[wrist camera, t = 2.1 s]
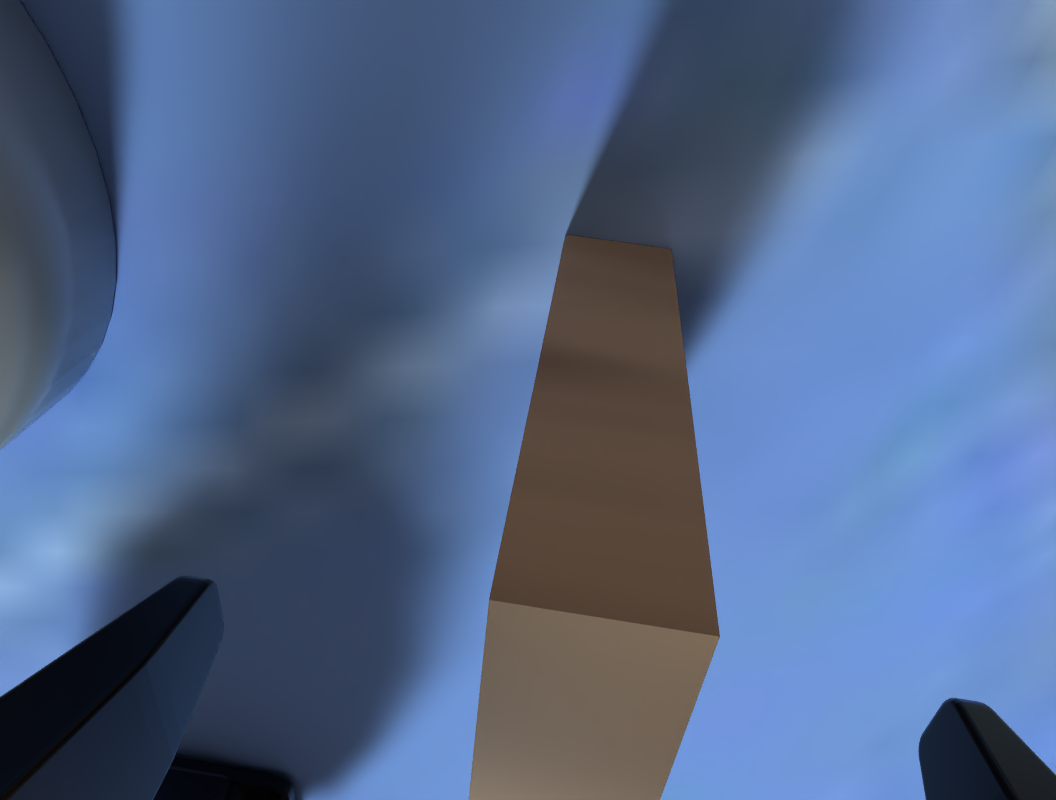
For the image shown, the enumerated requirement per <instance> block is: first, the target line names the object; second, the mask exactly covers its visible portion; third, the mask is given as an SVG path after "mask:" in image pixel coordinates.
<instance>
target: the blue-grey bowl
mask: <svg viewBox="0 0 1056 800" xmlns="http://www.w3.org/2000/svg"><path fill="white" fill-rule="evenodd" d="M115 285H116V242H115V234H114V228H113V221H112V215H111V208H110V202H109V196H108V193H107V189H106V185H105V182H104V178H103V175H102V171H101V167H100V164H99V160H98V157H97V153H96V149H95V147H94V144H93V142H92V139H91V137H90V134H89V132H88V129H87V127H86V124H85V122H84V119H83V117H82V114H81V112H80V109H79V107H78V104H77V102H76V99H75V97H74V95H73V93H72V91H71V89H70V87H69V85H68V83H67V81H66V79H65V78H64V76H63V74H62V72H61V70H60V68H59V66H58V64H57V62H56V60H55V58H54V56H53V54H52V52H51V50H50V48H49V46H48V44H47V43H46V41H45V40H44V38H43V37H42V35H41V33H40V32H39V30H38V29H37V27H36V26H35V24H34V22H33V21H32V19H31V18H30V16H29V14H28V13H27V11H26V10H25V8H24V7H23V5H22V3H21V2H20V0H0V450H1V449H2V448H4V447H5V446H6V445H7V444H8V443H10V442H11V441H12V440H13V439H14V438H15V437H17V436H18V435H19V434H20V433H21V432H23V431H24V430H25V429H26V428H27V427H29V426H30V425H31V424H32V423H33V422H35V421H36V420H37V419H38V418H39V417H41V416H42V415H43V414H44V413H45V412H47V411H48V410H49V409H50V408H51V407H53V406H54V405H55V404H56V403H57V402H58V401H60V400H61V399H62V398H63V397H64V396H66V395H67V394H68V393H69V392H70V391H71V390H72V389H73V387H74V386H75V385H76V384H77V383H78V382H79V380H80V379H81V378H82V377H83V376H84V375H85V373H86V372H87V371H88V369H89V367H90V365H91V364H92V362H93V360H94V358H95V356H96V355H97V353H98V351H99V349H100V347H101V345H102V342H103V339H104V336H105V333H106V330H107V327H108V324H109V321H110V318H111V314H112V306H113V299H114V292H115Z"/></svg>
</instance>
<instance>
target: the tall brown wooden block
mask: <svg viewBox="0 0 1056 800" xmlns="http://www.w3.org/2000/svg"><path fill="white" fill-rule="evenodd" d="M719 637H720V635H719V627H718V619H717V610H716V602H715V594H714V586H713V578H712V570H711V562H710V554H709V546H708V538H707V530H706V522H705V514H704V506H703V498H702V490H701V482H700V474H699V466H698V457H697V449H696V441H695V433H694V425H693V417H692V409H691V401H690V393H689V385H688V377H687V369H686V361H685V353H684V345H683V337H682V329H681V321H680V312H679V304H678V296H677V288H676V280H675V272H674V264H673V256H672V249H667V248H660V247H653V246H645V245H638V244H631V243H623V242H616V241H609V240H602V239H594V238H587V237H580V236H572V235H565V240H564V245H563V249H562V254H561V259H560V264H559V269H558V273H557V278H556V283H555V288H554V292H553V297H552V302H551V307H550V312H549V316H548V321H547V326H546V331H545V335H544V340H543V345H542V350H541V354H540V359H539V364H538V369H537V374H536V378H535V383H534V388H533V393H532V397H531V402H530V407H529V412H528V417H527V421H526V426H525V431H524V436H523V440H522V445H521V450H520V455H519V460H518V464H517V469H516V474H515V479H514V483H513V488H512V493H511V498H510V503H509V507H508V512H507V517H506V522H505V526H504V531H503V536H502V541H501V546H500V550H499V555H498V560H497V565H496V569H495V574H494V579H493V584H492V588H491V593H490V598H489V606H488V616H487V625H486V635H485V645H484V655H483V665H482V675H481V684H480V694H479V704H478V714H477V724H476V734H475V743H474V753H473V763H472V773H471V783H470V792H469V800H660V798H661V796H662V793H663V790H664V787H665V785H666V782H667V779H668V776H669V774H670V771H671V768H672V766H673V763H674V760H675V757H676V755H677V752H678V749H679V746H680V744H681V741H682V738H683V736H684V733H685V730H686V727H687V725H688V722H689V719H690V716H691V714H692V711H693V708H694V706H695V703H696V700H697V697H698V695H699V692H700V689H701V687H702V684H703V681H704V678H705V676H706V673H707V670H708V667H709V665H710V662H711V659H712V657H713V654H714V651H715V648H716V646H717V643H718V640H719Z"/></svg>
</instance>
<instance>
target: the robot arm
mask: <svg viewBox="0 0 1056 800" xmlns="http://www.w3.org/2000/svg"><path fill="white" fill-rule="evenodd" d="M223 625H224V624H223V617H222V612H221V606H220V601H219V596H218V590H217V586H216V584H215V583H214V582H213V581H212V580H210V579H206V578H200V577H194V576H180V577H177V578H175V579H174V580H172V581H171V582H169V583H168V584H166V585H165V586H163V587H162V588H160V589H159V590H157V591H156V592H154V593H153V594H151V595H150V596H148V597H147V598H145V599H144V600H143V601H141V602H140V603H138V604H137V605H135V606H134V607H132V608H131V609H129V610H128V611H126V612H125V613H123V614H122V615H120V616H119V617H117V618H116V619H115V620H113V621H112V622H110V623H109V624H107V625H106V626H104V627H103V628H101V629H100V630H98V631H97V632H95V633H94V634H92V635H91V636H89V637H88V638H86V639H85V640H84V641H82V642H81V643H79V644H78V645H76V646H75V647H73V648H72V649H70V650H69V651H67V652H66V653H64V654H63V655H61V656H60V657H58V658H57V659H56V660H54V661H53V662H51V663H50V664H48V665H47V666H45V667H44V668H42V669H41V670H39V671H38V672H36V673H35V674H33V675H32V676H30V677H29V678H27V679H26V680H25V681H23V682H22V683H20V684H19V685H17V686H16V687H14V688H13V689H11V690H10V691H8V692H7V693H5V694H4V695H2V696H1V697H0V800H296V799H295V792H294V786H293V784H292V783H291V782H290V781H289V780H287V779H285V778H283V777H279V776H274V775H268V774H262V773H257V772H251V771H245V770H239V769H233V768H228V767H222V766H216V765H210V764H204V763H198V762H193V761H187V760H181V759H175V758H174V757H175V754H176V752H177V750H178V747H179V745H180V742H181V740H182V738H183V735H184V733H185V730H186V728H187V725H188V722H189V720H190V717H191V715H192V712H193V710H194V707H195V705H196V702H197V700H198V697H199V695H200V692H201V690H202V687H203V685H204V682H205V680H206V677H207V675H208V672H209V670H210V667H211V665H212V662H213V659H214V657H215V654H216V652H217V649H218V647H219V644H220V642H221V638H222V635H223ZM919 760H920V766H921V772H922V778H923V785H924V791H925V797H926V800H1056V775H1055V774H1054V773H1053V772H1052V770H1051V769H1050V768H1049V767H1048V766H1047V765H1046V764H1045V763H1044V762H1043V761H1042V760H1041V759H1040V758H1039V757H1038V756H1037V755H1036V754H1035V753H1034V752H1033V751H1032V750H1031V749H1030V748H1029V747H1028V746H1027V745H1026V744H1025V743H1024V742H1023V740H1022V739H1021V738H1020V737H1019V736H1018V735H1017V734H1016V733H1015V732H1014V731H1013V730H1012V729H1011V728H1010V727H1009V726H1008V725H1007V724H1006V723H1005V722H1004V721H1003V720H1002V719H1001V718H1000V717H999V716H998V715H997V714H996V713H995V711H993V710H992V709H991V708H990V707H989V706H987V705H986V704H984V703H981V702H977V701H971V700H964V699H958V698H950V699H948V700H946V701H944V703H943V704H942V705H941V707H940V708H939V710H938V711H937V713H936V714H935V716H934V717H933V719H932V720H931V722H930V723H929V725H928V726H927V728H926V729H925V731H924V732H923V734H922V736H921V739H920V742H919Z"/></svg>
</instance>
